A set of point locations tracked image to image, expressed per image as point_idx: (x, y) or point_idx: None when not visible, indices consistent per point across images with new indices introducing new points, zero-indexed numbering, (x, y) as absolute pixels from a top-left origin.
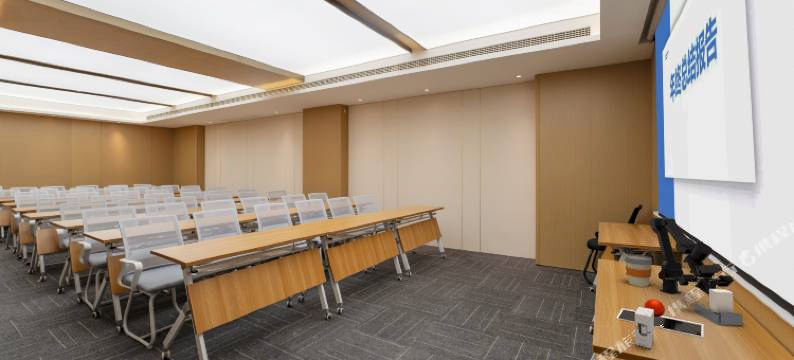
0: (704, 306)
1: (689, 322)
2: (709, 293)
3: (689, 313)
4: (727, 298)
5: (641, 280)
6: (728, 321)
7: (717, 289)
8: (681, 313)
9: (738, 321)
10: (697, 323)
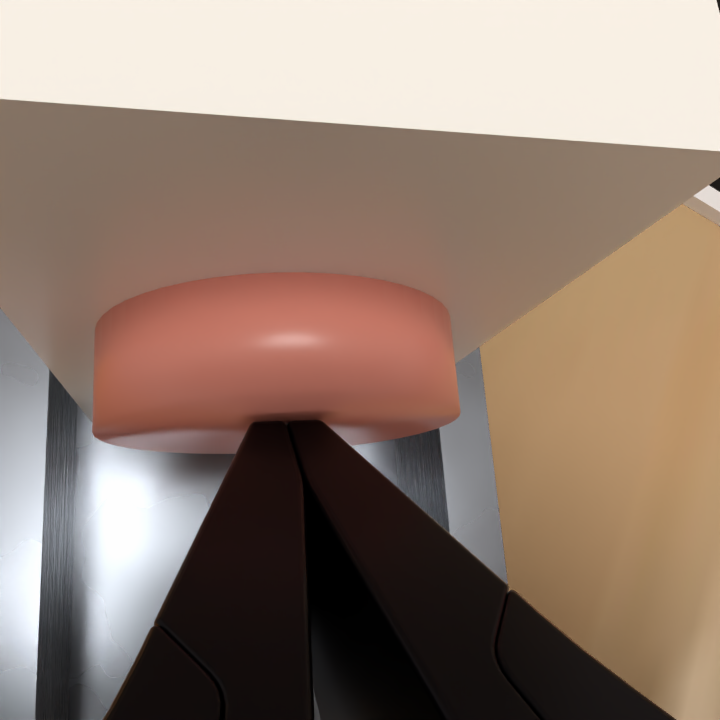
0: (456, 505)
1: (711, 189)
2: (605, 240)
3: (579, 590)
4: None
5: None
6: None
7: (385, 73)
8: (691, 561)
9: None
10: None
